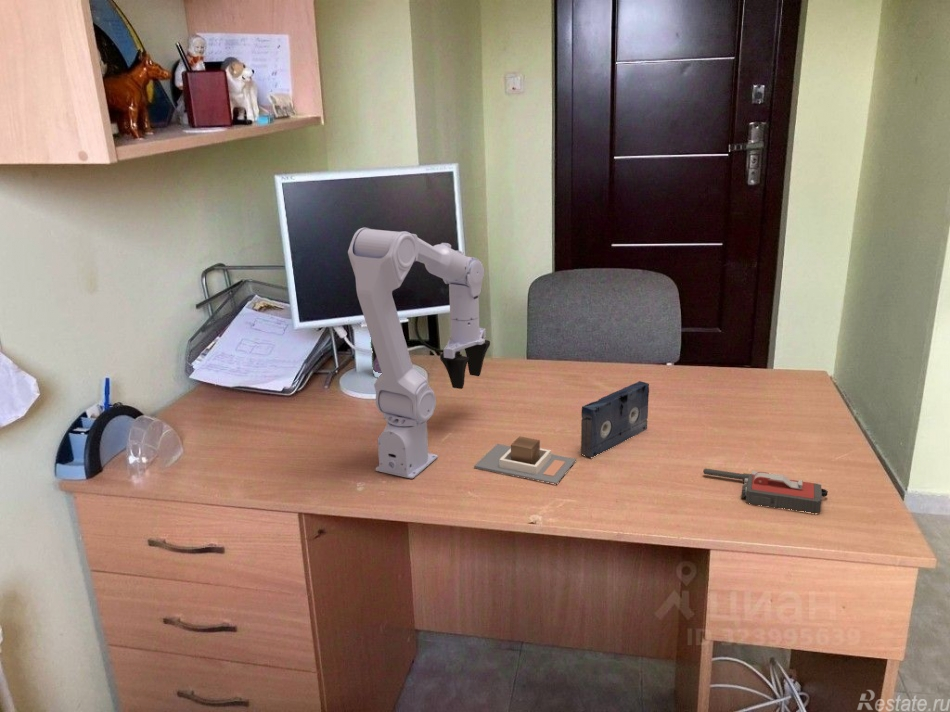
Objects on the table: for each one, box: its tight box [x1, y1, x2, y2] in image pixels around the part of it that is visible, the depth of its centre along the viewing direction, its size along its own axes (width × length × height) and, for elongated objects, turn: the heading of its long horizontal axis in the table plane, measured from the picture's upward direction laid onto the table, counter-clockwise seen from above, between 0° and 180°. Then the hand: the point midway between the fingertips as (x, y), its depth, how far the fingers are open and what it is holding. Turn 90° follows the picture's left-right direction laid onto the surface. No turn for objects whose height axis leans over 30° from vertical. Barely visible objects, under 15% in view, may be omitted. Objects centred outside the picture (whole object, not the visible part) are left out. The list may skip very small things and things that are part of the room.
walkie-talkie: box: [703, 468, 828, 513], centre depth 130 cm, size 9×4×20 cm
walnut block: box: [510, 435, 541, 465], centre depth 142 cm, size 4×4×4 cm
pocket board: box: [473, 443, 577, 484], centre depth 142 cm, size 10×16×2 cm, turn 63°
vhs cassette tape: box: [580, 380, 650, 459], centre depth 150 cm, size 18×3×10 cm, turn 132°
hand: (466, 381), depth 158 cm, fingers open, 7 cm apart
